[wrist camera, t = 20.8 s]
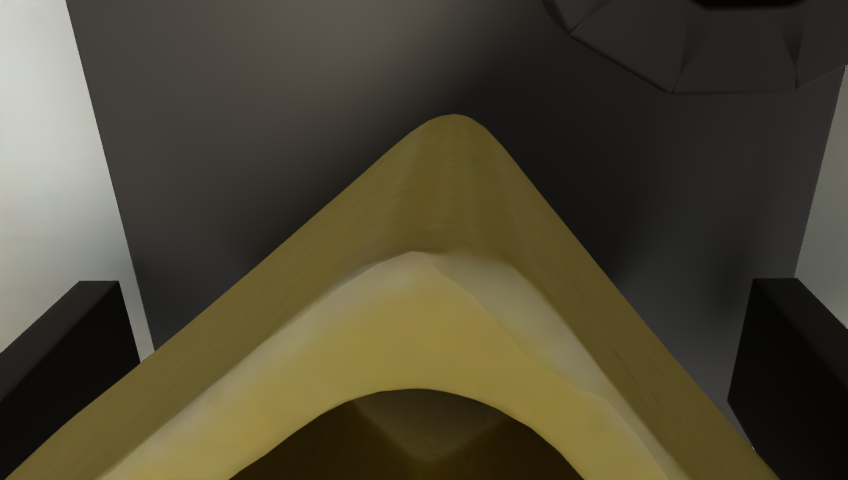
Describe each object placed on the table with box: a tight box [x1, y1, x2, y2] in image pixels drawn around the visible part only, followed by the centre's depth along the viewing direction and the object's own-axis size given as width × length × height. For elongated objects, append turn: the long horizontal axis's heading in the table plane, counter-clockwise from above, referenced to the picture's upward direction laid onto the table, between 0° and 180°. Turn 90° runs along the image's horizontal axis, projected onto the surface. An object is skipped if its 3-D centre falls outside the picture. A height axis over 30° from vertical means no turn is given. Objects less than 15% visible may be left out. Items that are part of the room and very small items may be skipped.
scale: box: [66, 0, 848, 447], centre depth 12 cm, size 17×14×4 cm
